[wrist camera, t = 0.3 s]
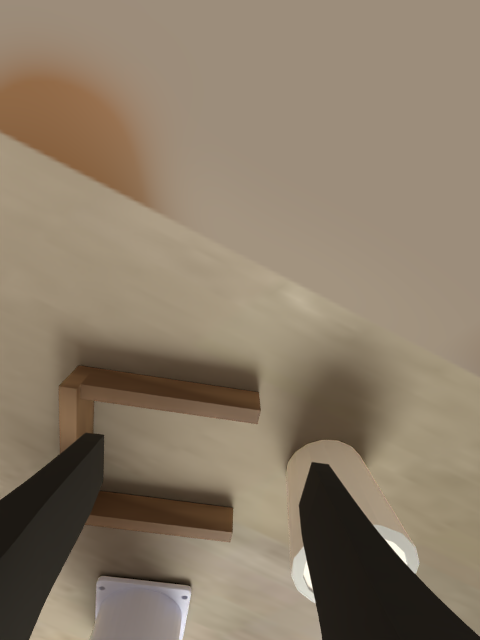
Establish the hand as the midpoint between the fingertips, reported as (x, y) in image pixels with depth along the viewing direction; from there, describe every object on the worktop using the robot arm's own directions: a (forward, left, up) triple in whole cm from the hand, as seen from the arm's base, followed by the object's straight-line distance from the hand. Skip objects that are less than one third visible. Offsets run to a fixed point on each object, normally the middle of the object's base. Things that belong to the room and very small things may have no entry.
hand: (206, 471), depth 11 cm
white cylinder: (-8, -9, -10) cm, 16 cm away
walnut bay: (-8, +2, -10) cm, 13 cm away
